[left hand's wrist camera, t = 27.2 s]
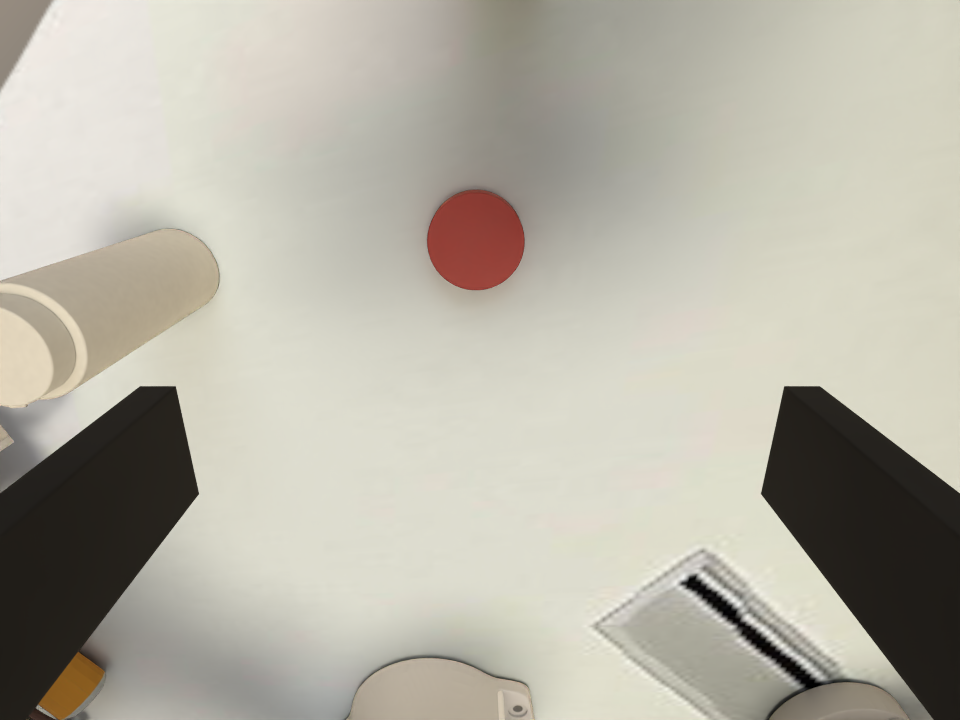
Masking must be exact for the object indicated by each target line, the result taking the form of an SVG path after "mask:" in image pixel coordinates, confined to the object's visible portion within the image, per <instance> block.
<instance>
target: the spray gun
mask: <svg viewBox="0 0 960 720" xmlns="http://www.w3.org/2000/svg"><path fill="white" fill-rule="evenodd" d="M105 675H106V674H105V672H104V670H103V669H101V668H100V667H98V666H97V665H96V664H94V663H93V662H92V661H90V660H89V659H87V658H86V657H85V656H83V655H82V654H81V653H79V652H78V653H77V654H76V655H75V657H74V658H73V659H72V660H71V662H70V663H69V664H68V666H67V667H66V668H65V670H64V671H63V672H62V674H61V675H60V676H59V677H58V679H57V680H56V681H55V683H54V684H53V685H52V687H51V688H50V689H49V691H48V692H47V693H46V694H45V696H44V697H43V698H42V700H41V701H40V702H39V704H38V705H40V706H41V707H42V708H44V709H45V710H46V711H48V712H49V713H51V714H52V715H53V716H55V717H56V718H57V719H59V720H65V719H68V718H71V717H74V716H76V715H77V714H79V713H80V712H81V711H82V710H83V709H85V708H86V707H87V706H88V705H89V704H90V702H91V701H92V700H93V699H94V698H95V697H96V696H97V694H98V693H99V692H100V690H101V689H102V687H103V686H104V683H105ZM29 717H30V718H32V719H33V720H55V719H53V718H51V717H49V716H47V715H45V714H44V713H42V712H40V711H39V710H37V709H36V708H35V709H34V710H33V711H32V713H31V714H30V715H29ZM26 720H28V719H26Z"/></svg>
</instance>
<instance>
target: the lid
mask: <svg viewBox="0 0 960 720" xmlns="http://www.w3.org/2000/svg"><path fill="white" fill-rule="evenodd" d="M427 246H428V252H429V256H430V259H431V261H432V263H433V265H434V267H435V268H436V270H437V271H438V272H439V274H440V275H441V276H442V277H443V278H444V279H446V280H447V281H448V282H450V283H452V284H453V285H455V286H458V287H460V288H464V289H468V290H483V289H488V288H492V287H494V286H497V285H499V284H500V283H502V282H504V281H505V280H506V279H508V278H509V277H510V276H511V275H512V273H513V272H514V271H515V270H516V268H517V267H518V265H519V263H520V261H521V258H522V255H523V251H524V232H523V228H522V225H521V222H520V220H519V217H518V215H517V214H516V212H515V210H514V209H513V208H512V206H511V205H510V204H509V203H508V202H507V201H506V200H504V199H503V198H502V197H500V196H498V195H496V194H494V193H492V192H488V191H484V190H468V191H464V192H460V193H458V194H456V195H454V196H452V197H450V198H449V199H448V200H446V201H445V202H444V203H443V204H442V205H441V206H440V207H439V209H438V210H437V212H436V214H435V215H434V217H433V219H432V221H431V224H430V227H429V231H428V237H427Z"/></svg>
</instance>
